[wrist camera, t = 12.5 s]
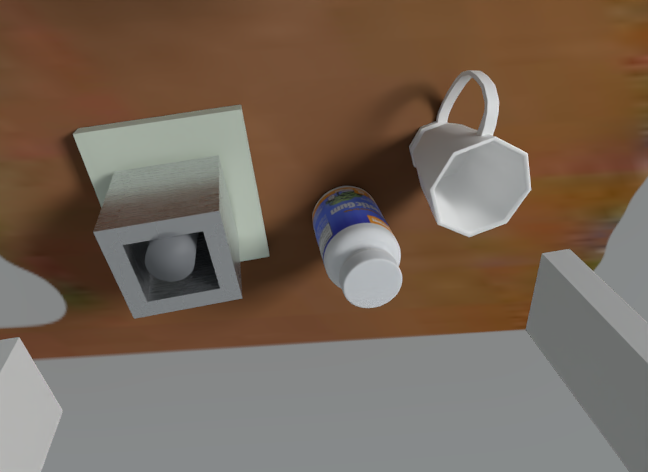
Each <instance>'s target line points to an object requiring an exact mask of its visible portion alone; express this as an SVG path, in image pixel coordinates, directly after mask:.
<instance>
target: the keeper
mask: <svg viewBox="0 0 648 472" xmlns="http://www.w3.org/2000/svg"><path fill="white" fill-rule="evenodd" d="M73 136H74V138H75V141H76V144H77V146H78V149H79V151H80V154H81V156H82V159H83V161H84V164H85V167H86V169H87V172H88V174H89V177H90V179H91V182H92V185H93V187H94V190H95V192H96V195H97V197H98V200H99V202H100V205H101V208H102V205H103V203H104V200H105V197H106V194H107V191H108V189H109V186H110V183H111V180H112V177H113V174H114V172H115V171H122V170H128V169H134V168H141V167H147V166H153V165H160V164H166V163H172V162H179V161H185V160H191V159H198V158H204V157H210V156H217V155H219V158H220V162H221V166H222V170H223V174H224V179H225V183H226V187H227V191H228V195H229V199H230V203H231V207H232V212H233V216H234V220H235V224H236V228H237V232H238V237H239V253H240V262H242V261H247V260H253V259H258V258H264V257H270V256H269V248H268V243H267V238H266V233H265V227H264V222H263V217H262V212H261V207H260V201H259V196H258V191H257V186H256V181H255V175H254V170H253V165H252V160H251V155H250V149H249V144H248V139H247V134H246V128H245V123H244V118H243V113H242V108H241V105H234V106H228V107H221V108H214V109H207V110H200V111H194V112H187V113H180V114H173V115H166V116H160V117H153V118H146V119H139V120H132V121H125V122H119V123H112V124H105V125H98V126H91V127H85V128H78V129H77V130H76V131H75V132H74V133H73ZM197 238H198V232H196V233H190V234H184V235H178V236H173V237H167V238H161V239H155V240H150V241H149V245H148V248H147V252H146V255H145V266H146V268H147V270H148V271H149V273H150V274H151V275H153V276H154V277H156V278H157V279H160V280H163V281H169V282H173V281H179V280H182V279H184V278H186V277H187V276H188V275H190V273H191V272H192V271H193V269H194V265H195V256H196V247H197Z"/></svg>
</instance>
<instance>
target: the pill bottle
mask: <svg viewBox="0 0 648 472" xmlns="http://www.w3.org/2000/svg"><path fill="white" fill-rule="evenodd" d="M312 221H313V228H314V232H315V235H316V239H317V242H318V246H319V249H320V252H321V256H322V259H323V263H324V266H325V269H326V272H327V274H328V276H329V278H330V279H331V281H332V282H333V283H334V284H335V285H336V286H338V287H340V288H341V289H342V290H343V293H344V295H345V297H346V299H347V300H348V301H349V302H350V303H352V304H353V305H355V306H358V307H362V308H374V307H378V306H381V305H383V304H385V303H387V302H389V301H390V300H391V299H393V298H394V297H395V296H396V294H397V293H398V291H399V290H400V287H401V284H402V274H401V271H400V268H399V264H400V258H401V253H400V247H399V244H398V242H397V240H396V238H395V236H394V235H393V233H392V231H391V229H390V228H389V226H388V224H387V222H386V220H385V219H384V217H383V215H382V213H381V212H380V210H379V208H378V206H377V204H376V202H375V201H374V199H373V198H372V197H371V195H370V194H369V193H367V192H366V191H365V190H363V189H361V188H358V187H354V186H340V187H337V188H334V189H332V190H330V191H328V192H327V193H325V194H324V195H323V196H322V197H321V198H320V199H319V201H318V202H317V204H316V206H315V208H314V211H313V215H312Z"/></svg>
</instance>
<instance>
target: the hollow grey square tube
mask: <svg viewBox="0 0 648 472" xmlns="http://www.w3.org/2000/svg"><path fill="white" fill-rule="evenodd" d="M196 232H198V238H197V247H196V256H195V265H194V269H193V271H192V272H191V273H190V275H188V276H187V277H186V278H184V279H182V280H179V281H173V282H169V281H163V280H160V279H157V278H156V277H154V276H153V275H151V274H150V273H149V271H148V270H147V268H146V266H145V255H146V252H147V248H148V245H149V241H150V240H155V239H161V238H167V237H173V236H178V235H184V234H190V233H196ZM93 233H94V235H95V237H96V239H97V241H98V243H99V246H100V248H101V250H102V252H103V254H104V256H105V258H106V260H107V262H108V265H109V267H110V269H111V271H112V273H113V275H114V277H115V279H116V281H117V284H118V286H119V288H120V290H121V292H122V294H123V296H124V298H125V300H126V303H127V305H128V307H129V309H130V311H131V313H132V315H133V317H134V319H135V318H140V317H145V316H151V315H156V314H161V313H167V312H172V311H177V310H183V309H188V308H193V307H199V306H204V305H210V304H215V303H220V302H226V301H231V300H236V299H242V285H241V269H240V253H239V237H238V232H237V228H236V224H235V220H234V216H233V212H232V207H231V203H230V199H229V195H228V191H227V187H226V183H225V179H224V174H223V170H222V166H221V162H220V158H219V155H217V156H210V157H204V158H198V159H191V160H185V161H179V162H172V163H166V164H160V165H153V166H147V167H141V168H134V169H128V170H122V171H115V172H114V174H113V177H112V180H111V183H110V186H109V189H108V191H107V194H106V197H105V200H104V203H103V205H102V208H101V211H100V214H99V217H98V220H97V222H96V225H95V228H94V231H93Z"/></svg>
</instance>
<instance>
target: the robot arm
mask: <svg viewBox="0 0 648 472" xmlns="http://www.w3.org/2000/svg"><path fill="white" fill-rule="evenodd" d="M526 331H527V332H528V334H529V335H530V337H531V338H532V339H533V341H534V342H535V343H536V345H537V346H538V347H539V349H540V350H541V352H542V353H543V354H544V356H545V357H546V358H547V360H548V361H549V362H550V364H551V365H552V367H553V368H554V369H555V371H556V372H557V373H558V374H559V376H560V377H561V379H562V380H563V382H564V383H565V384H566V386H567V387H568V388H569V390H570V391H571V393H572V394H573V395H574V397H575V398H576V399H577V401H578V402H579V403H580V405H581V406H582V408H583V409H584V410H585V412H586V413H587V414H588V416H589V417H590V418H591V420H592V421H593V423H594V424H595V425H596V427H597V428H598V429H599V431H600V432H601V433H602V435H603V436H604V438H605V439H606V440H607V442H608V443H609V444H610V446H611V447H612V448H613V450H614V451H615V453H616V454H617V455H618V457H619V458H620V459H621V461H622V462H623V463H624V465H625V466H626V467H627V469H628V470H629V472H648V323H647V322H646V321H645V320H644V319H643V318H642V317H641V316H640V315H639V314H638V313H637V312H636V311H635V310H634V309H633V308H631V307H630V306H629V305H628V304H627V303H626V302H625V301H624V300H623V299H622V298H621V297H620V296H619V295H618V294H617V293H616V292H615V291H614V290H612V289H611V288H610V287H609V286H608V285H607V284H606V283H605V282H604V281H603V280H602V279H601V278H600V277H599V276H598V275H597V274H596V273H594V272H593V271H592V270H591V269H590V268H589V267H588V266H587V265H586V264H585V263H584V262H583V261H582V260H581V259H580V258H579V257H578V256H576V255H575V254H574V253H573V252H572V251H571V250H570V249H567V250H560V251H554V252H548V253H542V256H541V261H540V266H539V270H538V275H537V280H536V284H535V289H534V294H533V298H532V303H531V308H530V312H529V317H528V322H527V326H526ZM62 412H63V410H62V409H61V407H60V405H59V404H58V402H57V400H56V398H55V397H54V395H53V393H52V392H51V390H50V388H49V387H48V385H47V383H46V382H45V380H44V378H43V376H42V375H41V373H40V371H39V370H38V368H37V366H36V365H35V363H34V361H33V360H32V358H31V356H30V354H29V353H28V351H27V349H26V348H25V346H24V344H23V343H22V341H21V339H20V338H19V337H17V338H10V339H4V340H0V472H41V470H42V467H43V464H44V462H45V459H46V456H47V453H48V451H49V448H50V445H51V442H52V439H53V436H54V434H55V431H56V428H57V426H58V423H59V420H60V417H61V415H62Z"/></svg>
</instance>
